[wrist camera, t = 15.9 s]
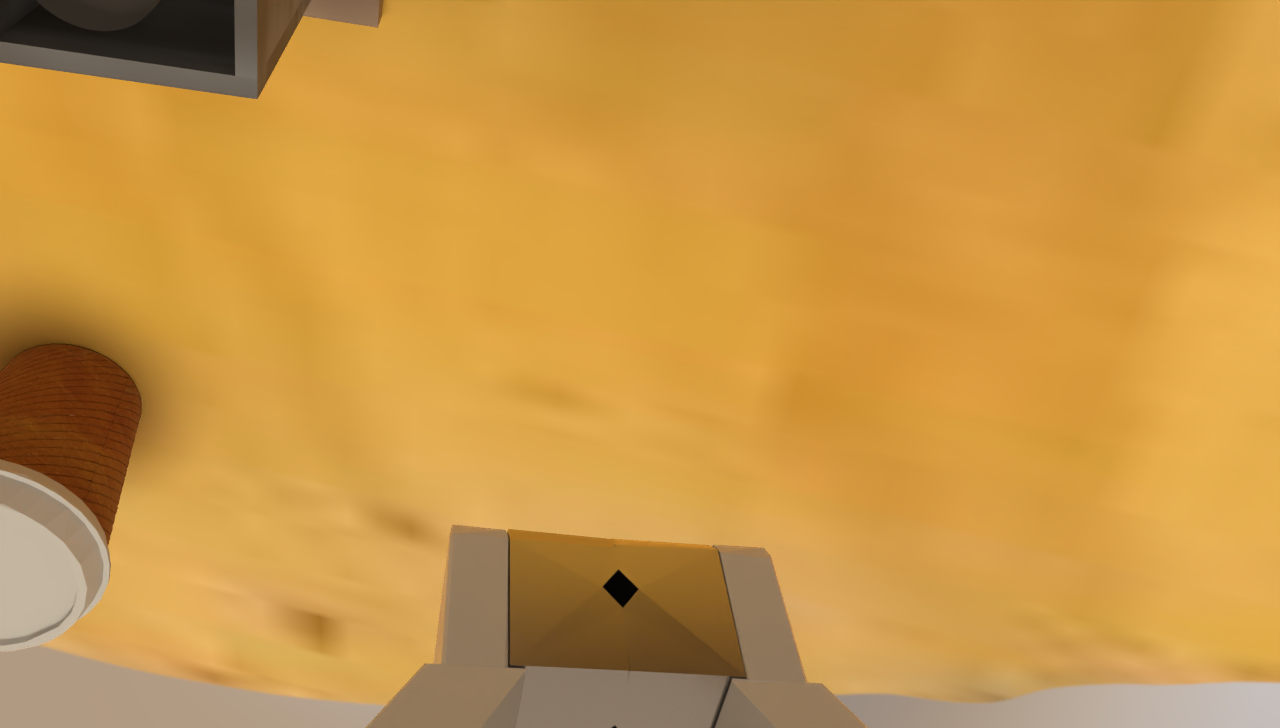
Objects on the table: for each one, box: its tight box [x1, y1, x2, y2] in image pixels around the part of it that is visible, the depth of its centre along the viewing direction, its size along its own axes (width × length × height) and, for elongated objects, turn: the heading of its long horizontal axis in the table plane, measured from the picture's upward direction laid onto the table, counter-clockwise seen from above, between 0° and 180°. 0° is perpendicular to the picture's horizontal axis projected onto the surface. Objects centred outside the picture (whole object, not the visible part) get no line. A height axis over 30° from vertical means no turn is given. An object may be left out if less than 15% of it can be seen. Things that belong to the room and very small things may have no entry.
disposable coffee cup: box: [0, 344, 141, 651], centre depth 47 cm, size 10×10×12 cm
